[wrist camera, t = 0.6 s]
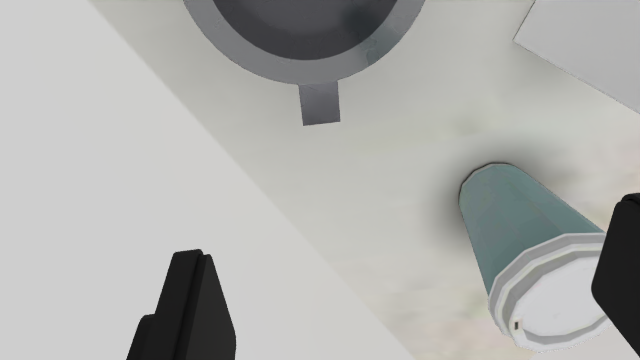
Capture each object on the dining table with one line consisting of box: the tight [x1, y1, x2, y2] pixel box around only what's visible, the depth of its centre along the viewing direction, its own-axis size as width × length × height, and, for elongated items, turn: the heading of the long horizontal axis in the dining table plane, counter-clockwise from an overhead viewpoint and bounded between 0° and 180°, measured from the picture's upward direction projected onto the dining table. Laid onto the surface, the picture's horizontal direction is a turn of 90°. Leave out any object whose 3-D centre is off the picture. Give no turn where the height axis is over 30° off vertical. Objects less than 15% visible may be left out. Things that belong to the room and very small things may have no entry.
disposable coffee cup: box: [459, 164, 613, 353], centre depth 37 cm, size 11×11×15 cm
